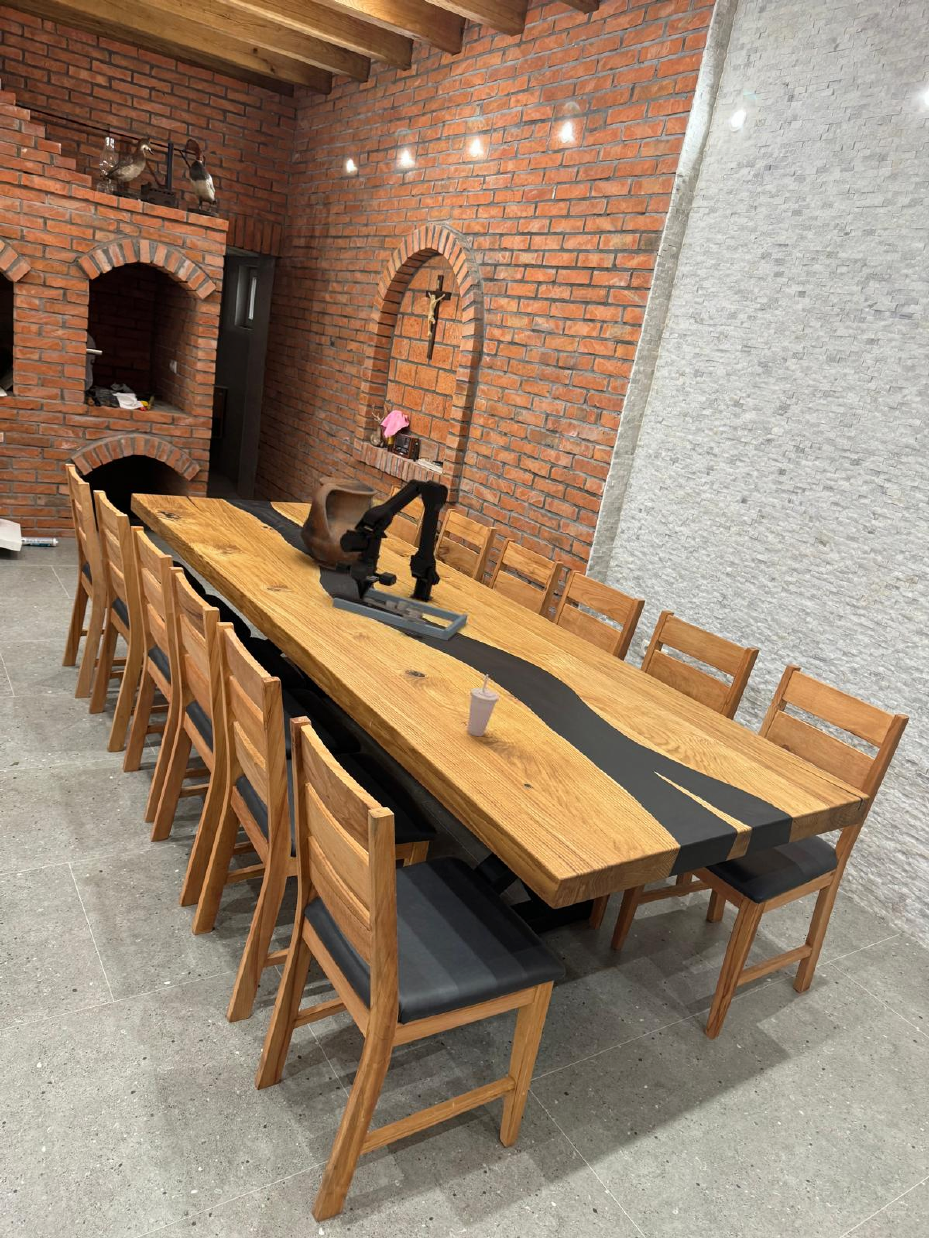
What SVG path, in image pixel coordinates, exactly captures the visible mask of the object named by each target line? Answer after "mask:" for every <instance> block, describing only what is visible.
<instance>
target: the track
mask: <svg viewBox="0 0 929 1238" xmlns="http://www.w3.org/2000/svg"><path fill="white" fill-rule="evenodd" d="M357 594H358V595H359V592H358V591H357ZM365 597H367V598H371V599H374V600H379V601H382V602H387V600H389V601H392V602H394V603H396V605H395V606H398V604H399V601H400V600H401V601H404V602H406V603H409V604H408V607H409V605H411V606H415V607H417V608H420V609H422V610H424V611H423V614H425V615H430V616H433V617H436V618H440V619H444V620H446V619H447V620H446V621H449V620H450V622H452V623H451V624H449V625H447V627H446V628H444V629H442V628H439V627H436V626H432V625H429V624H425V625H422V624H419V623H416V622H414V621H410V620H407V619H404V618H403V616H399V615H395V614H392V613H390V612H385V611H382V610H379V609H375V608H372V607H370V606H369V607H368V606H365V605H363V604H359V603H356V602H351V601H348V600H345V599H343V598H342V599H341V598H339V597H335V598H333V602H332V607H334V608H337V609H339V610H340V609H341V610H343V611H347V612H349V613H350V612H351V613H353V614H357V615H361V616H364V617H367V618H370V619H374V620H377V621H380V622H382V623H383V622H384V623H386V624H390V625H393V626H396V627H400V628H403V629H407V630H409V631H413V632H416V633H420V634H423V635H427V636H430V637H434V638H436V639H440V640H443V641H446V642H447V641H448V640H449V639H450V638H452V637H453V635H455V634H456V633H457V632H459V631H460V630H461V629H462V628H463V627H464V626H465V625H466V624H467V621H468V616H469V615H468V614H466V613H462V614H459V613H456V612H453V611H450V610H447V609H443V608H439V607H436V606H433V605H429V604H426V603H423V602H419V601H416V600H412V599H409V598H406V597H403V596H402V597H401V596H398V595H396V594H392V593H388V592H386V591H382V590H378V589H375V588H371V587H370V589H369V590H368V592H367V594H366V595H365ZM408 607H407V609H408ZM462 626H463V627H462ZM461 627H462V628H461ZM460 628H461V629H460Z"/></svg>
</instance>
